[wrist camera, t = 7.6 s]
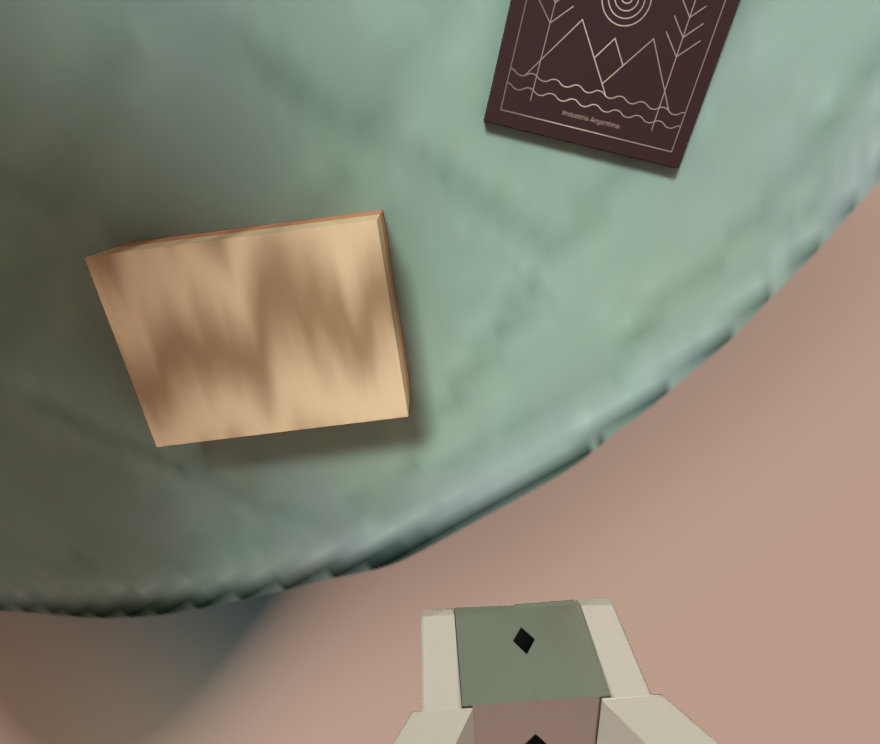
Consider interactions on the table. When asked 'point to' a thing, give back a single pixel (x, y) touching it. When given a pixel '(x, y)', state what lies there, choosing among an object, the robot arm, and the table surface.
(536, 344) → the table surface
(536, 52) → the chocolate bar
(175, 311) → the tan wooden block
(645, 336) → the table surface
